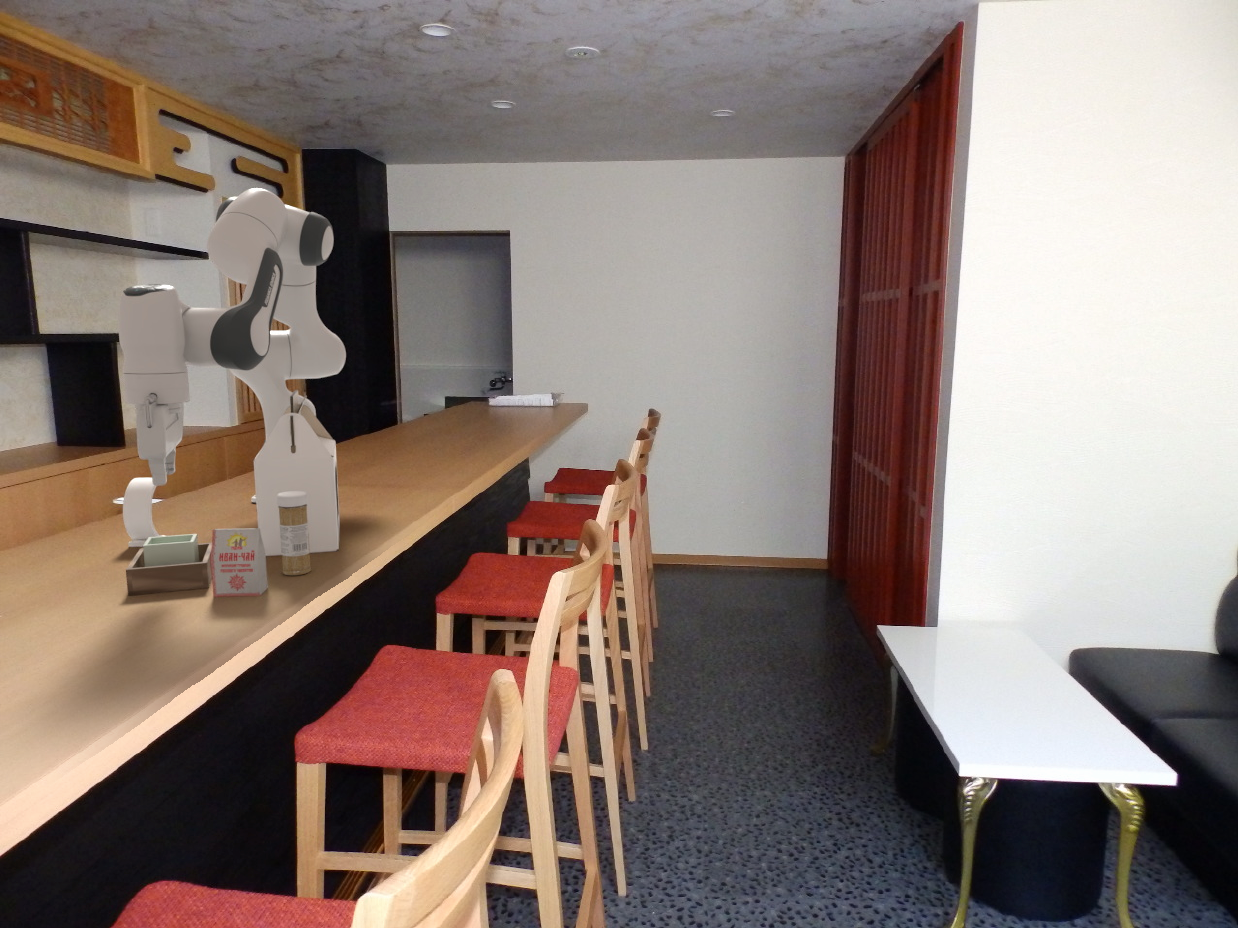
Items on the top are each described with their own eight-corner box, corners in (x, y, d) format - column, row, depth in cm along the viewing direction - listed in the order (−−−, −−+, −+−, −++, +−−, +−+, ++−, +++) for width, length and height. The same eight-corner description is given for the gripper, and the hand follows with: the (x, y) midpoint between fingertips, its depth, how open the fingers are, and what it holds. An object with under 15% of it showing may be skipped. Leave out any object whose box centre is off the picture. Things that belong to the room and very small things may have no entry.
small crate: (146, 582, 131) (142, 545, 130) (151, 573, 136) (148, 537, 135) (196, 578, 133) (193, 541, 132) (199, 568, 138) (197, 533, 137)
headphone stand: (166, 539, 159) (161, 477, 157) (152, 547, 153) (146, 483, 151) (140, 540, 159) (135, 477, 157) (125, 548, 153) (119, 483, 151)
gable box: (338, 551, 152) (330, 397, 147) (259, 557, 148) (248, 398, 143) (339, 524, 172) (332, 388, 168) (270, 528, 168) (261, 389, 164)
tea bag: (222, 589, 130) (217, 526, 128) (267, 588, 130) (263, 525, 129) (213, 596, 126) (208, 532, 125) (259, 595, 127) (255, 531, 125)
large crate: (142, 571, 138) (140, 548, 138) (215, 565, 142) (214, 542, 142) (128, 595, 126) (125, 569, 126) (208, 587, 130) (206, 562, 130)
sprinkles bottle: (309, 567, 142) (305, 489, 139) (312, 574, 138) (308, 494, 135) (280, 570, 140) (275, 491, 137) (282, 577, 136) (277, 496, 133)
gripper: (170, 396, 121) (178, 490, 123) (187, 385, 140) (194, 467, 142) (120, 397, 119) (129, 493, 121) (144, 386, 138) (152, 469, 140)
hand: (164, 479), depth 132 cm, fingers open, 8 cm apart
